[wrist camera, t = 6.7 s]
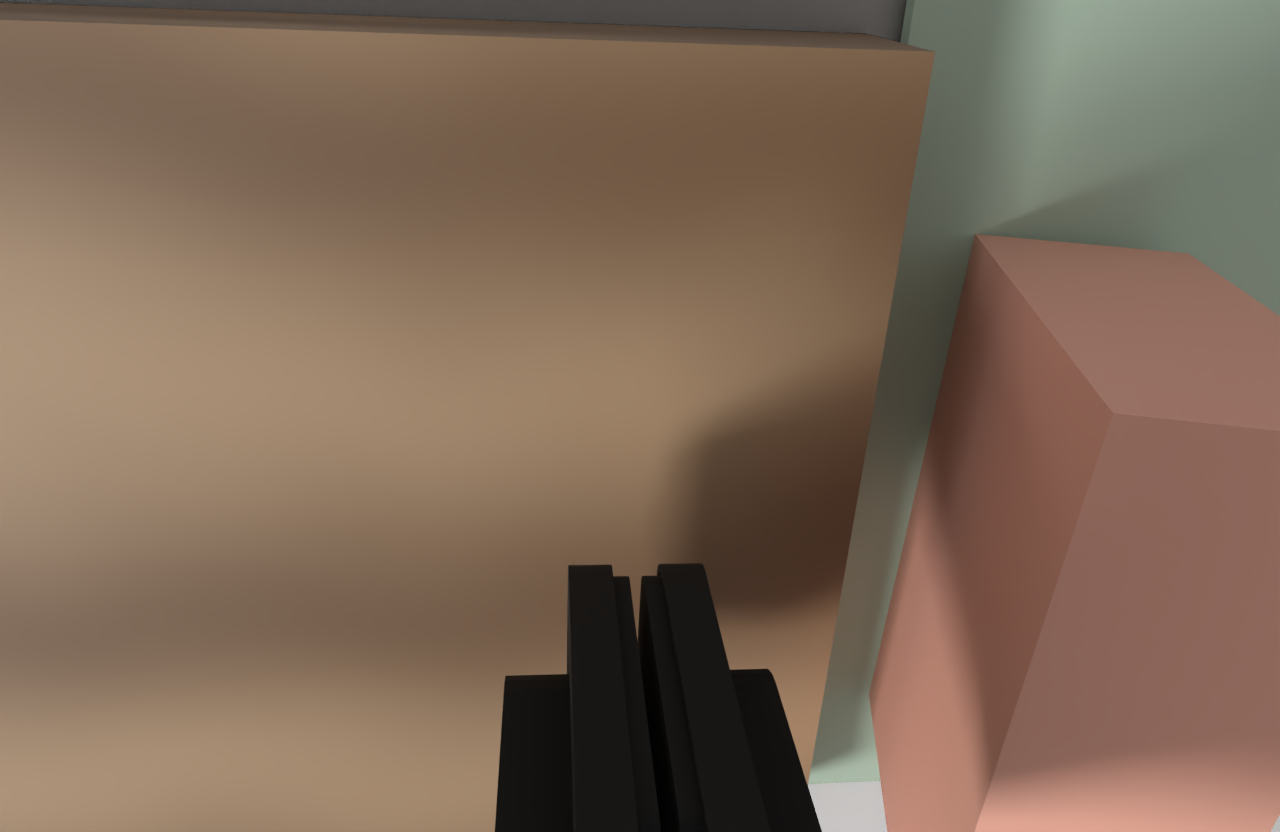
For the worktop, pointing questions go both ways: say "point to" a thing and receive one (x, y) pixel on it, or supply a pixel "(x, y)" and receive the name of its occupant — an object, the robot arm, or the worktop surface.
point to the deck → (411, 385)
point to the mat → (1049, 222)
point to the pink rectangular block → (1090, 556)
